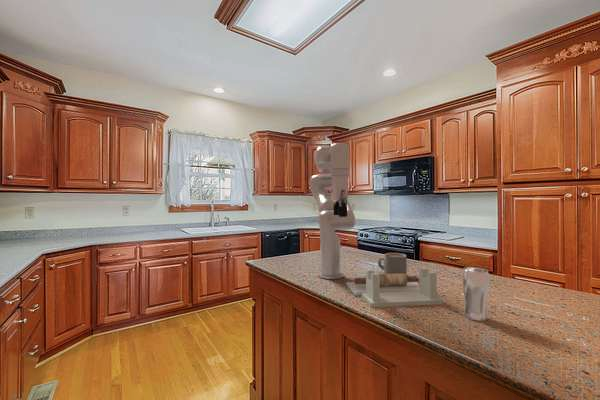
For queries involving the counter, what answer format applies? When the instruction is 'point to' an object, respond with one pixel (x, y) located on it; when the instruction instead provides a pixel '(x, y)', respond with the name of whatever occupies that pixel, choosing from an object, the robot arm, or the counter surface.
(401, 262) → the coffee mug
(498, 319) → the counter surface
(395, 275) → the rolling pin
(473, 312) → the beer glass
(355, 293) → the pastry board
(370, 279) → the pin stand
